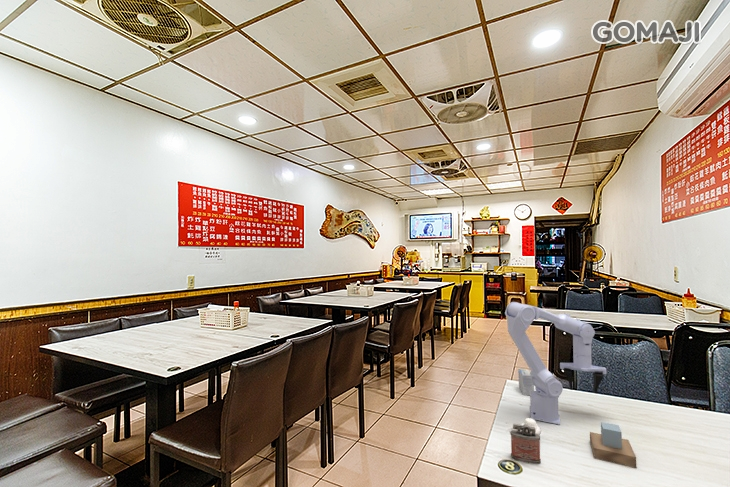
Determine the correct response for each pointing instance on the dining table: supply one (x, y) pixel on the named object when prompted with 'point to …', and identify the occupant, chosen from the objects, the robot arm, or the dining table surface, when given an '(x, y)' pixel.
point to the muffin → (532, 425)
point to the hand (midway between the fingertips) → (583, 390)
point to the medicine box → (525, 381)
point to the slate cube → (611, 435)
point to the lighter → (525, 444)
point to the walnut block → (612, 451)
